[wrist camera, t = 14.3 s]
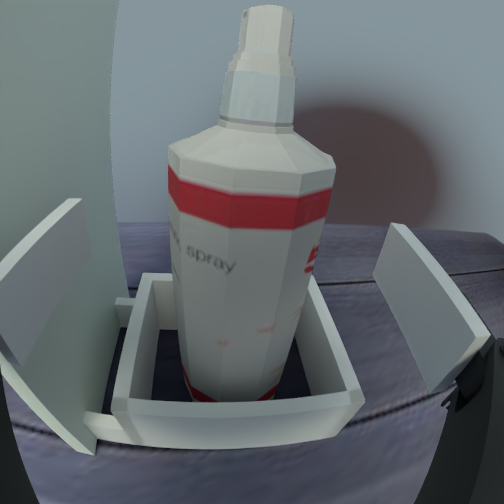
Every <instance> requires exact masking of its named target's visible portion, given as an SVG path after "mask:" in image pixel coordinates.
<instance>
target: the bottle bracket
mask: <svg viewBox="0 0 504 504" xmlns="http://www.w3.org/2000/svg"><path fill="white" fill-rule="evenodd" d="M118 6H119V0H0V261H1V260H3V259H4V258H5V257H6V256H7V255H8V254H9V252H10V251H11V250H12V249H13V248H14V247H15V246H16V245H17V244H18V243H19V242H20V241H21V240H22V239H23V238H24V237H26V236H27V235H28V234H29V233H30V232H31V231H32V230H33V229H34V228H35V227H36V226H37V225H38V224H39V223H40V222H42V221H43V220H44V219H45V218H46V217H47V216H48V215H49V214H51V213H52V212H53V211H54V210H55V209H56V208H58V207H59V206H60V205H61V204H62V203H64V202H65V201H66V200H67V199H68V198H79V199H83V206H84V212H85V219H86V224H87V230H88V235H89V241H90V245H91V250H92V255H91V256H90V258H89V259H88V261H87V262H86V263H85V265H84V266H83V268H82V269H81V270H80V272H79V273H78V275H77V276H76V278H75V279H74V281H73V282H72V284H71V285H70V287H69V288H68V290H67V291H66V293H65V294H64V296H63V297H62V299H61V300H60V302H59V304H58V305H57V307H56V308H55V310H54V312H53V313H52V315H51V317H50V318H49V320H48V322H47V323H46V325H45V327H44V328H43V330H42V332H41V334H40V335H39V337H38V339H37V341H36V343H35V344H34V346H33V348H32V350H31V352H30V354H29V356H28V358H27V360H26V361H25V363H24V365H23V367H20V366H17V365H15V364H12V363H10V362H7V360H6V359H5V357H4V356H3V354H2V353H1V351H0V366H1V374H2V375H3V376H4V378H5V379H6V380H7V381H8V383H9V384H10V385H11V386H12V387H13V389H14V390H15V391H16V392H17V393H18V394H19V396H20V397H21V398H22V399H23V400H24V401H25V402H26V403H27V405H28V406H29V407H30V408H31V409H32V410H33V411H34V412H35V413H36V414H37V415H38V416H39V417H40V418H41V419H42V420H43V421H44V422H45V423H46V424H47V425H48V426H49V427H50V428H51V429H52V430H53V431H54V432H55V433H57V434H58V435H59V436H60V437H61V438H62V439H63V440H64V441H65V442H67V443H68V444H69V445H70V446H71V447H72V448H74V449H75V450H76V451H77V452H81V453H85V454H90V455H95V451H96V443H97V439H102V440H107V441H113V442H119V443H126V444H134V445H142V446H152V447H164V448H180V449H239V448H255V447H267V446H277V445H286V444H294V443H301V442H307V441H313V440H319V439H325V438H330V437H335V436H336V435H337V434H338V433H339V432H340V430H341V429H342V428H343V427H344V426H345V425H346V424H347V423H348V422H349V420H350V419H351V418H352V417H353V416H354V415H355V413H356V412H357V411H358V410H359V409H360V407H361V406H362V405H363V404H364V403H365V401H366V400H365V398H364V395H363V393H362V390H361V387H360V385H359V382H358V380H357V377H356V375H355V372H354V370H353V367H352V365H351V362H350V360H349V357H348V355H347V353H346V350H345V348H344V345H343V343H342V341H341V338H340V336H339V333H338V331H337V329H336V326H335V324H334V322H333V319H332V317H331V315H330V313H329V310H328V308H327V306H326V303H325V301H324V299H323V297H322V294H321V292H320V290H319V288H318V285H317V283H316V281H315V279H314V277H313V275H311V278H310V282H309V285H308V289H307V293H306V296H305V300H304V303H303V307H302V310H301V314H300V317H299V321H298V324H297V327H296V331H295V334H294V336H295V339H296V343H297V346H298V350H299V353H300V357H301V361H302V364H303V368H304V371H305V375H306V378H307V382H308V385H309V389H310V393H311V396H309V397H301V398H292V399H281V400H268V401H252V402H217V403H207V402H172V401H156V400H151V395H152V385H153V376H154V368H155V360H156V352H157V345H158V338H159V331H160V329H166V330H178V329H177V320H176V311H175V301H174V290H173V277H172V274H169V273H143V274H142V278H141V281H140V284H139V288H138V291H137V295H136V298H129V297H130V296H129V292H128V287H127V282H126V276H125V271H124V265H123V260H122V253H121V247H120V241H119V234H118V226H117V218H116V210H115V201H114V190H113V179H112V163H111V142H110V141H111V140H110V90H111V70H112V56H113V44H114V35H115V27H116V19H117V12H118ZM121 327H128V328H127V332H126V336H125V340H124V345H123V349H122V353H121V358H120V362H119V367H118V372H117V377H116V382H115V387H114V392H113V398H112V403H111V409H110V411H111V412H112V414H113V415H114V416H113V415H106V414H101V412H102V407H103V401H104V396H105V391H106V386H107V382H108V377H109V372H110V368H111V364H112V360H113V355H114V351H115V347H116V343H117V340H118V336H119V332H120V328H121Z"/></svg>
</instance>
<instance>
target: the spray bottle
mask: <svg viewBox="0 0 504 504" xmlns="http://www.w3.org/2000/svg"><path fill="white" fill-rule="evenodd" d="M293 25H294V15H293V14H292V13H291V12H289V11H288V10H286V9H285V8H284V7H281V6H274V5H261V6H256V7H253V8H249V9H246V10H244V11H243V12H242V20H241V28H240V37H239V45H238V52H237V53H234V56H233V61H230V62H229V68H228V71H226V73H225V80H224V87H223V94H222V100H221V107H220V117H221V118H220V119H218V122H217V125H216V126H214V127H211V128H209V129H207V130H205V131H203V132H201V133H199V134H197V135H195V136H192V137H187V138H185V139H182V140H180V141H178V142H175V143H173V144H171V145H169V146H168V191H169V192H168V193H169V227H170V247H171V264H172V277H173V290H174V301H175V311H176V320H177V329H178V338H179V346H180V353H181V361H182V368H183V375H184V380H185V383H186V385H187V388H188V390H189V393H190V395H191V398H192V400H193V402H207V403H217V402H252V401H268V400H273V399H274V396H275V393H276V390H277V387H278V384H279V381H280V378H281V375H282V372H283V369H284V366H285V363H286V360H287V357H288V353H289V350H290V347H291V344H292V341H293V337H294V334H295V331H296V327H297V324H298V321H299V317H300V314H301V310H302V307H303V303H304V300H305V296H306V293H307V289H308V285H309V282H310V278H311V274H312V270H313V266H314V263H315V259H316V255H317V251H318V247H319V243H320V239H321V235H322V230H323V226H324V222H325V218H326V213H327V209H328V204H329V200H330V195H331V190H332V185H333V181H334V176H335V171H336V166H335V164H334V161H333V159H332V156H330V155H327V154H325V153H323V152H321V151H320V150H318V149H317V148H316V147H315V146H313V145H312V144H311V143H309V142H308V141H306V140H305V139H303V138H302V137H301V136H299V135H298V134H297V133H295V132H294V131H293V127H294V126H293V125H291V124H292V122H293V115H294V114H293V113H294V103H295V90H296V78H295V77H294V76H295V67H292V63H293V59H292V58H290V50H291V42H292V33H293Z"/></svg>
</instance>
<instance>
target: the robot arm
mask: <svg viewBox="0 0 504 504" xmlns="http://www.w3.org/2000/svg"><path fill="white" fill-rule="evenodd" d="M91 255H92V250H91V245H90V241H89V235H88V230H87V224H86V219H85V212H84V206H83V199H79V198H68V199H67V200H66V201H65V202H64V203H62V204H61V205H60V206H59V207H58V208H56V209H55V210H54V211H53V212H52V213H51V214H49V215H48V216H47V217H46V218H45V219H44V220H43V221H42V222H40V223H39V224H38V225H37V226H36V227H35V228H34V229H33V230H32V231H31V232H30V233H29V234H28V235H27V236H26V237H24V238H23V239H22V240H21V241H20V242H19V243H18V244H17V245H16V246H15V247H14V248H13V249H12V250H11V251H10V252H9V254H8V255H7V256H6V257H5V258H4V259H3V260H1V261H0V351H1V353H2V354H3V356H4V357H5V359H6V360H7V362H10V363H12V364H15V365H17V366H20V367H23V365H24V363H25V361H26V360H27V358H28V356H29V354H30V352H31V350H32V348H33V346H34V344H35V343H36V341H37V339H38V337H39V335H40V334H41V332H42V330H43V328H44V327H45V325H46V323H47V322H48V320H49V318H50V317H51V315H52V313H53V312H54V310H55V308H56V307H57V305H58V304H59V302H60V300H61V299H62V297H63V296H64V294H65V293H66V291H67V290H68V288H69V287H70V285H71V284H72V282H73V281H74V279H75V278H76V276H77V275H78V273H79V272H80V270H81V269H82V268H83V266H84V265H85V263H86V262H87V261H88V259H89V258H90V256H91ZM372 275H373V277H374V279H375V281H376V283H377V285H378V286H379V288H380V290H381V292H382V294H383V296H384V298H385V300H386V302H387V303H388V305H389V307H390V309H391V311H392V313H393V315H394V317H395V319H396V321H397V323H398V325H399V327H400V329H401V331H402V334H403V336H404V338H405V340H406V342H407V344H408V346H409V348H410V351H411V353H412V355H413V357H414V359H415V362H416V364H417V366H418V368H419V371H420V373H421V375H422V378H423V380H424V382H425V385H426V387H427V390H428V392H429V394H433V393H437V392H441V391H445V390H446V389H447V388H448V387H449V386H450V384H451V383H452V382H453V381H454V380H456V383H457V385H458V386H457V387H456V388H455V389H454V390H453V391H452V393H451V394H450V395H449V396H448V397H447V398H446V399H445V400H444V401H443V402H442V404H441V406H442V407H443V406H444V405H445V404H446V403H447V402H448V401H450V404H449V405H448V406H447V407H446V409H448V413H447V417H446V421H445V424H444V428H443V431H442V434H441V437H440V440H439V444H438V447H437V449H436V452H435V455H434V458H433V461H432V463H431V466H430V468H429V471H428V473H427V476H426V478H425V481H424V483H423V485H422V488H421V490H420V492H419V494H418V496H417V499H416V501H415V503H414V504H504V339H503V338H498V339H497V340H496V339H495V338H494V336H493V335H492V333H491V332H490V330H489V329H488V327H487V326H486V324H485V323H484V321H483V320H482V318H481V317H480V315H479V314H478V313H476V310H475V308H474V307H473V305H471V303H470V301H469V300H468V298H467V297H466V296H465V294H464V293H463V292H461V291H460V290H459V289H458V287H457V286H456V285H455V283H454V282H453V281H452V279H451V278H450V277H449V276H448V274H447V273H446V272H445V271H444V269H443V268H442V267H441V266H440V264H439V263H438V262H437V261H436V260H435V258H434V257H433V256H432V255H431V254H430V253H429V251H428V250H427V249H426V248H425V247H424V246H423V244H422V243H421V242H420V241H419V240H418V239H417V238H416V237H415V235H414V234H413V233H412V232H411V231H410V230H409V229H408V228H407V227H406V226H405V225H403V224H397V223H391V224H390V226H389V229H388V232H387V235H386V238H385V241H384V244H383V247H382V250H381V252H380V255H379V258H378V261H377V263H376V266H375V269H374V271H373V274H372ZM0 504H39V502H38V499H37V497H36V495H35V493H34V490H33V488H32V486H31V483H30V481H29V478H28V475H27V473H26V470H25V467H24V465H23V462H22V459H21V456H20V453H19V450H18V447H17V443H16V440H15V436H14V433H13V429H12V425H11V421H10V417H9V413H8V408H7V403H6V398H5V393H4V387H3V381H2V374H1V366H0Z"/></svg>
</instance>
